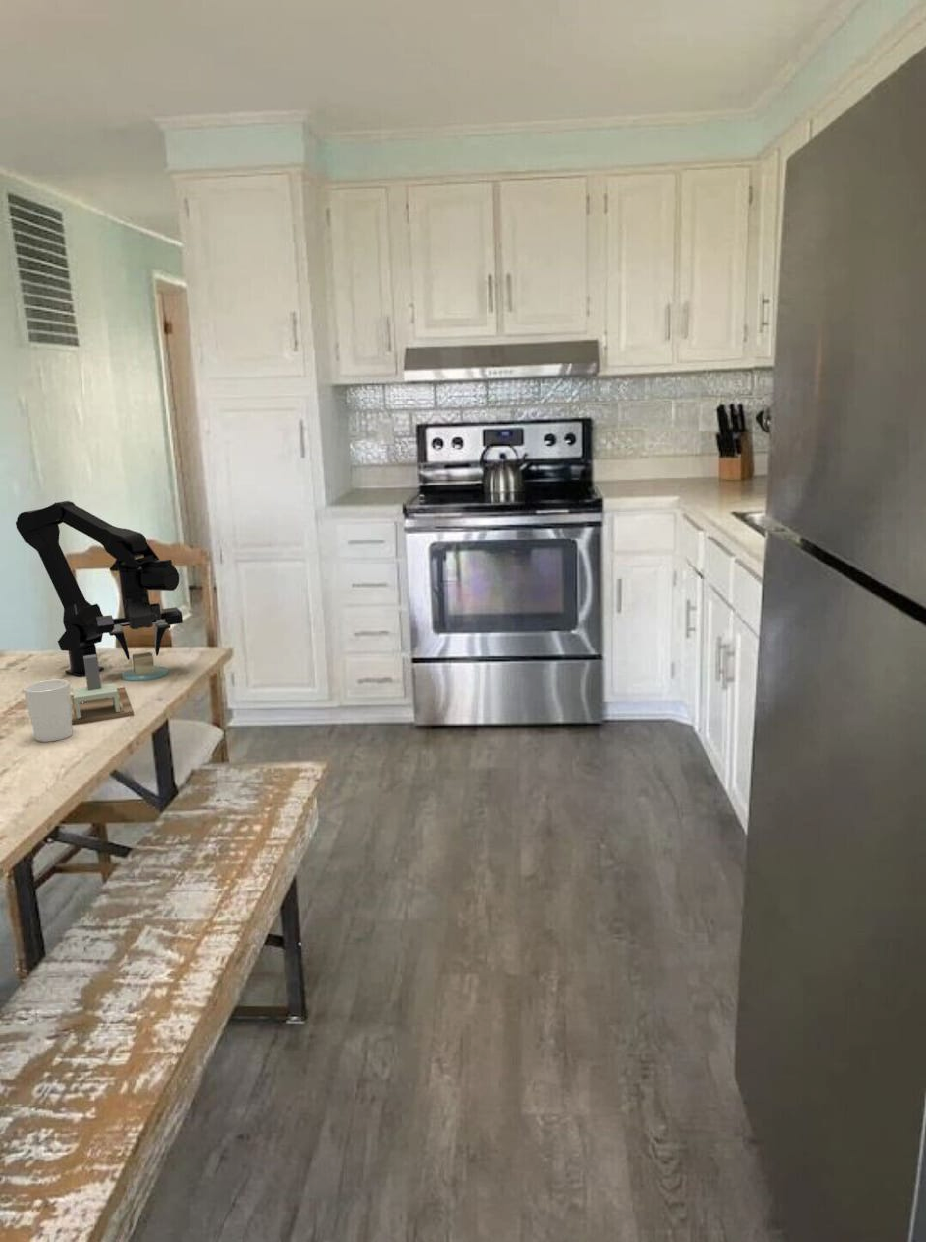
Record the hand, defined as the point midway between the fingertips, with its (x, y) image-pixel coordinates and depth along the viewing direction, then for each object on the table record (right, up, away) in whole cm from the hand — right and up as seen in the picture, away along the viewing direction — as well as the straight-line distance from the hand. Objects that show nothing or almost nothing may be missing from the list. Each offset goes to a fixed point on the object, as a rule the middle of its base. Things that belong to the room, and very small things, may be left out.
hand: (142, 657), depth 224 cm
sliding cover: (0, -10, -28) cm, 30 cm away
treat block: (0, -3, +1) cm, 4 cm away
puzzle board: (-2, -10, -22) cm, 24 cm away
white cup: (-4, -14, -38) cm, 41 cm away
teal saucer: (0, -4, +1) cm, 4 cm away
